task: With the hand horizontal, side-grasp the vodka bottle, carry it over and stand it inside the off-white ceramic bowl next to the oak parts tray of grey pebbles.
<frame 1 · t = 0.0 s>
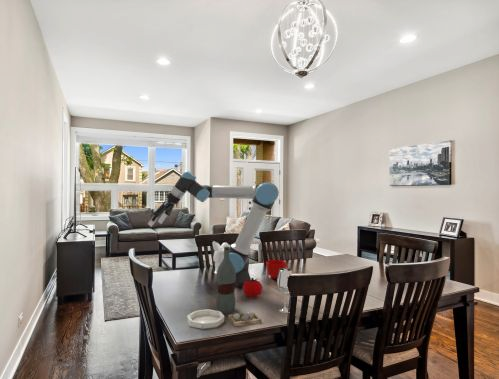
hand: (154, 224, 196), 36 cm above the table, tool tilted 35°, fingers open, 13 cm apart
parts tray: (244, 321, 146), on the table
vodka: (225, 311, 159), on the table
ceramic cup: (278, 278, 216), on the table
cherub figurine: (221, 274, 225), on the table
pebble c: (236, 320, 146), point 1 cm above the table, touching parts tray
pebble a: (250, 318, 148), point 1 cm above the table, touching parts tray
wineglass: (284, 312, 159), on the table
pebble b: (244, 321, 145), point 1 cm above the table, touching parts tray
tomato: (252, 297, 179), on the table
bowl: (205, 322, 145), on the table
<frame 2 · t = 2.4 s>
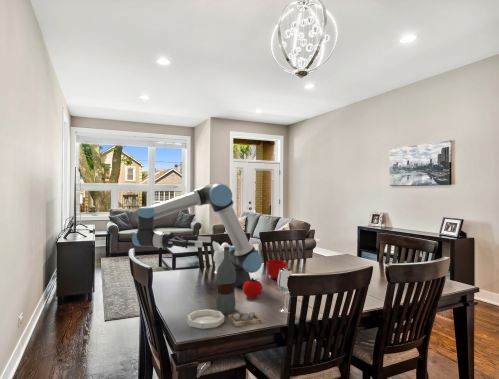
hand: (206, 241, 160), 32 cm above the table, tool horizontal, fingers open, 13 cm apart
nothing on the table moved.
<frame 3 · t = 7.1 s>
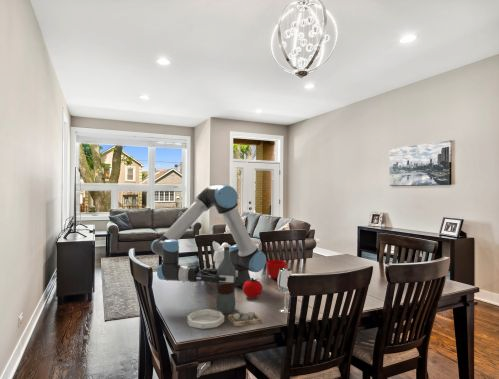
hand: (235, 276, 158), 17 cm above the table, tool horizontal, fingers closed on vodka, 9 cm apart
vodka: (225, 311, 159), on the table, touching gripper
everything else where it was.
when the fingers open (19 cm above the table, at t = 11.0 s): vodka drops 2 cm, resting on bowl.
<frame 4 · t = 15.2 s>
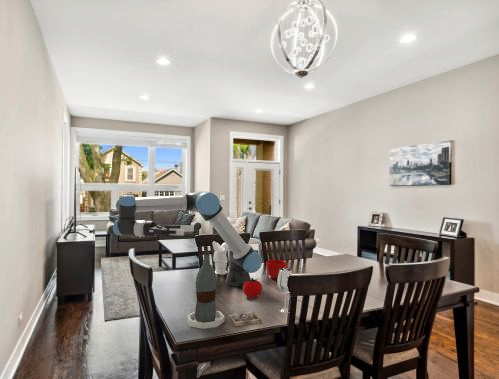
hand: (188, 230, 157), 38 cm above the table, tool horizontal, fingers open, 13 cm apart
vodka: (205, 321, 146), resting on bowl
everything else where it was.
at the end: vodka 0.1 cm from the bowl (horizontally); vodka tilted 0°; the gripper is holding nothing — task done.
